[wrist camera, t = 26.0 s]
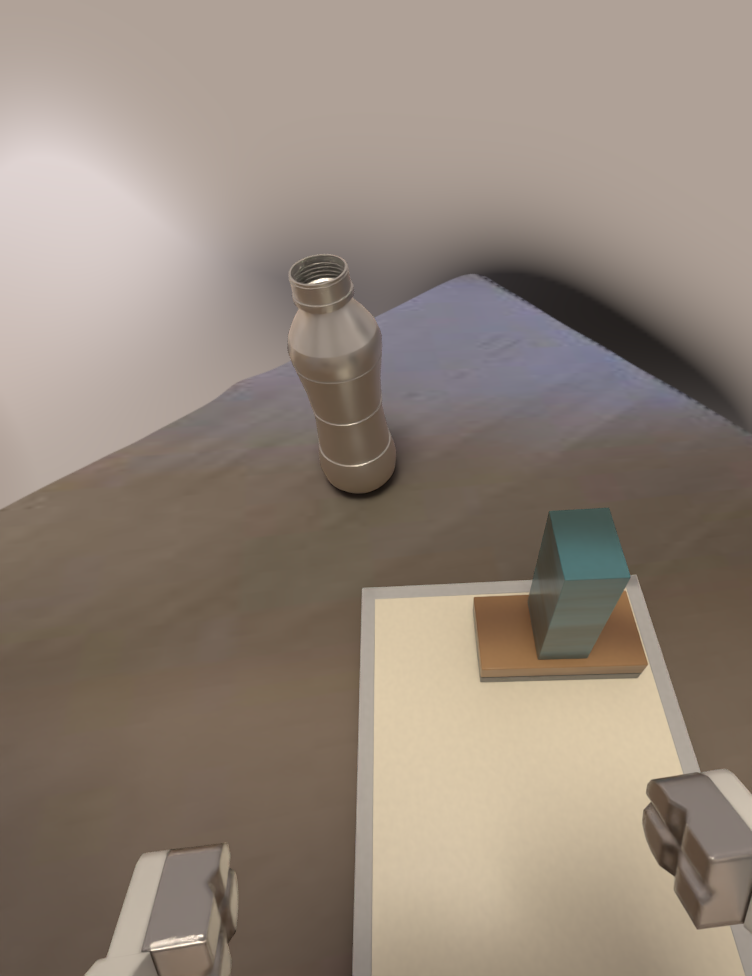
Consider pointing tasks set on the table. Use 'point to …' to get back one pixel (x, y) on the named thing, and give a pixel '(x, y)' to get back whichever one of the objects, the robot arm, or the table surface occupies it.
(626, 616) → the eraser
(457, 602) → the whiteboard
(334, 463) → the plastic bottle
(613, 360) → the table surface
